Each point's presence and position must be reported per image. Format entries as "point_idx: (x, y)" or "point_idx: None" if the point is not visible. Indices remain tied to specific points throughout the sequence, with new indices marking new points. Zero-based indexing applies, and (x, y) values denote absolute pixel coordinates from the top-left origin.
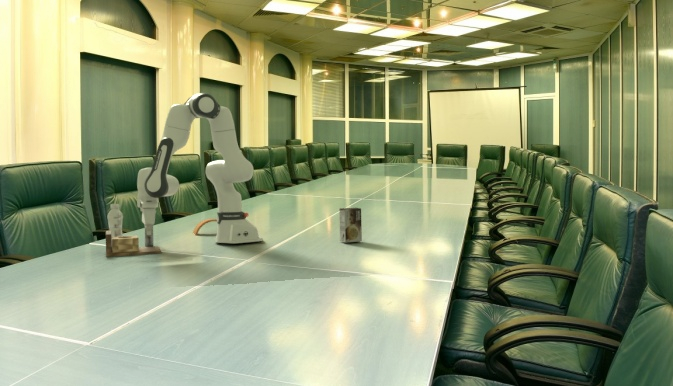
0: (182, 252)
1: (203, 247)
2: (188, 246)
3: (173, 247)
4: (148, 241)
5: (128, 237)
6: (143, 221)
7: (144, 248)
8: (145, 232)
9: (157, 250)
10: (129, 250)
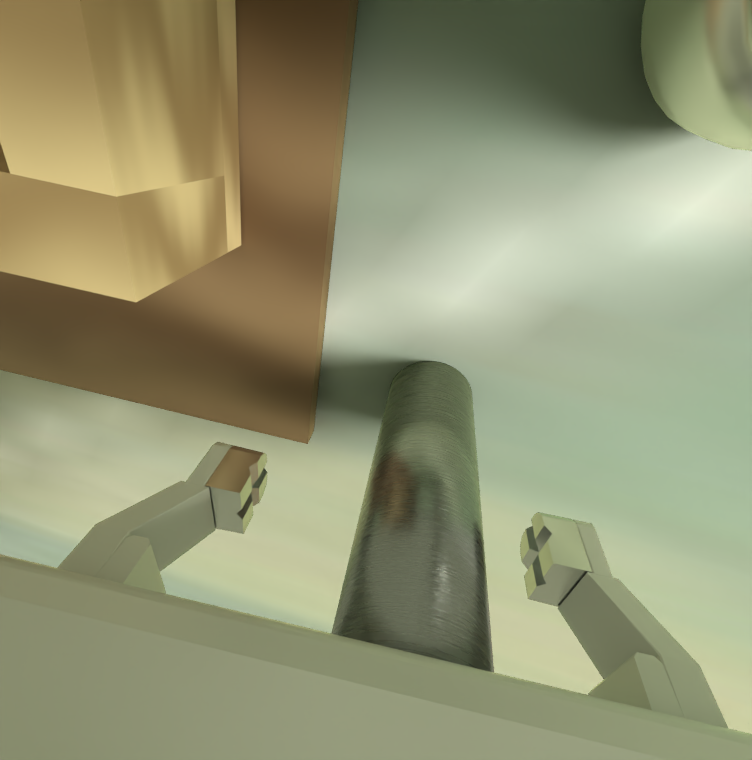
0: (28, 460)
1: (213, 592)
2: (303, 574)
3: (307, 512)
4: (383, 423)
5: (6, 94)
6: (412, 719)
7: (192, 300)
8: (400, 492)
9: (13, 349)
10: None
